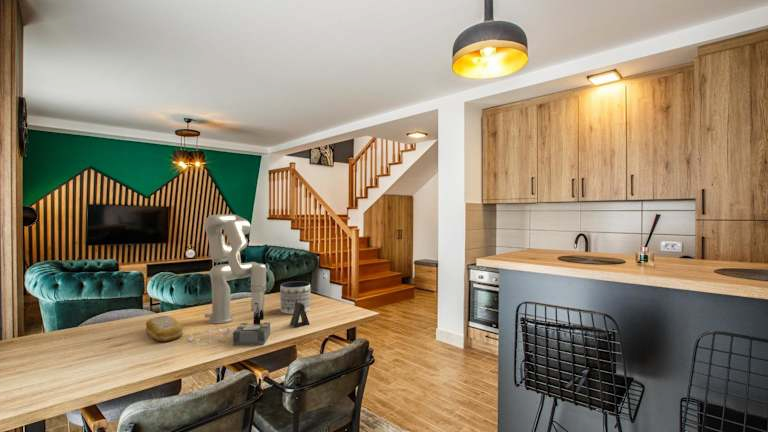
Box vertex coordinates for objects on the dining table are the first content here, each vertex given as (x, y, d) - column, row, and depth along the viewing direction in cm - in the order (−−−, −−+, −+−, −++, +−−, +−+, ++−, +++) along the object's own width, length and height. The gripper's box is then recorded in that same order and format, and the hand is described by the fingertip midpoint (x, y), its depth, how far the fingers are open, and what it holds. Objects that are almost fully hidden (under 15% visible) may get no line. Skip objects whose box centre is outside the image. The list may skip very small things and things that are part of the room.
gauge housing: (233, 345, 170) (233, 332, 170) (241, 335, 184) (241, 323, 184) (264, 344, 172) (264, 331, 172) (270, 334, 186) (270, 322, 185)
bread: (168, 326, 198) (168, 311, 198) (189, 337, 181) (189, 321, 181) (140, 332, 188) (140, 317, 188) (158, 345, 171) (158, 328, 170)
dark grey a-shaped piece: (294, 327, 196) (293, 305, 196) (289, 324, 201) (289, 303, 200) (309, 324, 201) (309, 302, 201) (305, 321, 206) (305, 300, 206)
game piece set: (229, 329, 195) (229, 321, 195) (231, 341, 177) (231, 333, 177) (188, 334, 186) (188, 326, 186) (186, 347, 168) (186, 339, 168)
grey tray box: (235, 339, 173) (234, 328, 173) (240, 333, 182) (240, 322, 182) (265, 338, 175) (265, 327, 174) (269, 332, 183) (269, 322, 183)
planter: (283, 306, 237) (283, 281, 237) (311, 306, 239) (311, 281, 239) (278, 315, 219) (278, 287, 219) (309, 314, 221) (309, 287, 221)
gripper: (255, 284, 199) (255, 317, 199) (246, 291, 181) (246, 327, 182) (269, 284, 199) (269, 316, 200) (262, 291, 182) (262, 327, 182)
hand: (258, 321), depth 191 cm, fingers open, 7 cm apart
